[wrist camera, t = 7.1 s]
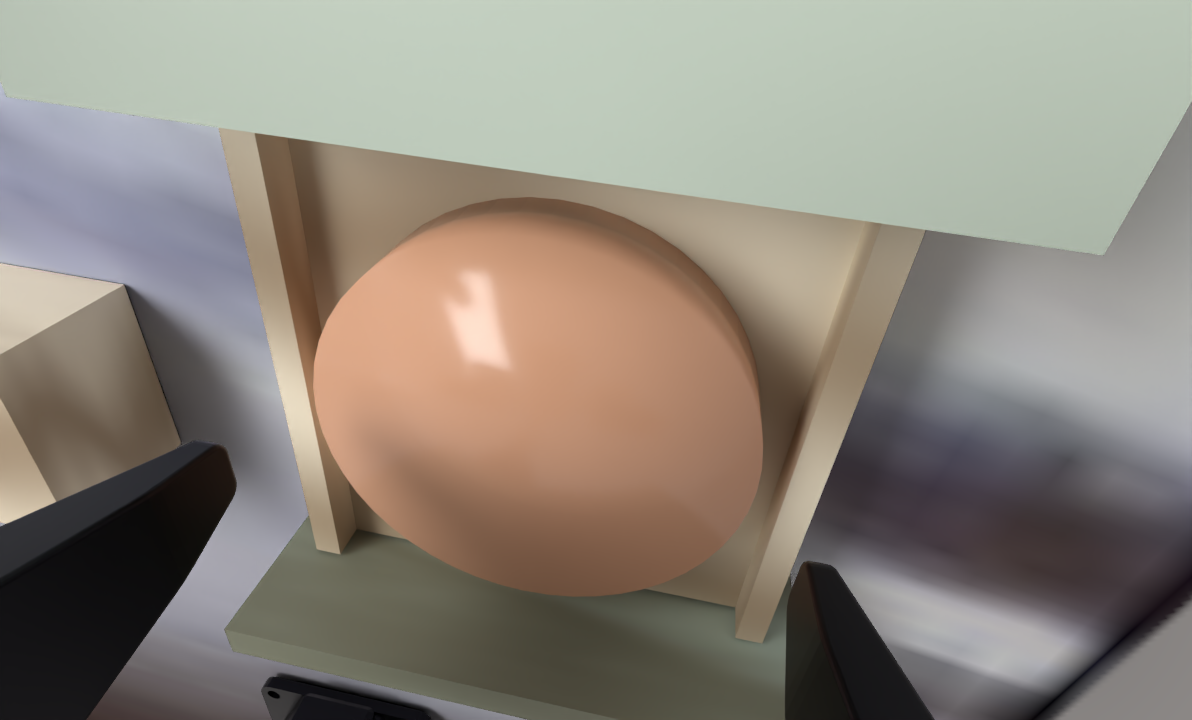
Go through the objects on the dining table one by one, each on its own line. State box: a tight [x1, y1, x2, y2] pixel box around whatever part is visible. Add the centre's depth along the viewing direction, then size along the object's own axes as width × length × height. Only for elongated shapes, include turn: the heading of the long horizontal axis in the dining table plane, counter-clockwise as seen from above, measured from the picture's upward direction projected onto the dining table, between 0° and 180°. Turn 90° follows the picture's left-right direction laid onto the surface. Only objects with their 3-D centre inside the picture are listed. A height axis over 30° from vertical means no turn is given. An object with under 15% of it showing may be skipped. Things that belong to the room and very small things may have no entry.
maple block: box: [0, 263, 181, 524], centre depth 15 cm, size 5×5×4 cm
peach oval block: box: [313, 197, 763, 597], centre depth 12 cm, size 8×8×2 cm
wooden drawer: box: [219, 128, 926, 720], centre depth 11 cm, size 16×12×5 cm
